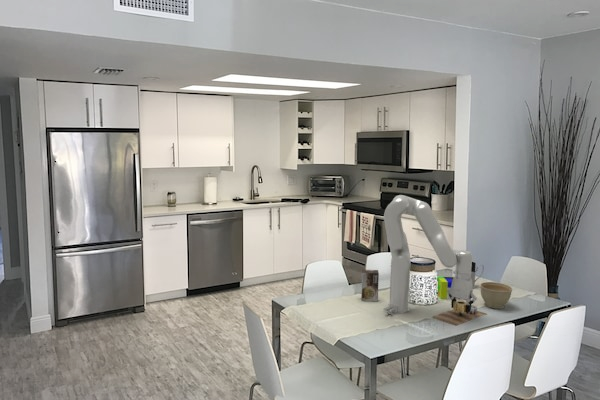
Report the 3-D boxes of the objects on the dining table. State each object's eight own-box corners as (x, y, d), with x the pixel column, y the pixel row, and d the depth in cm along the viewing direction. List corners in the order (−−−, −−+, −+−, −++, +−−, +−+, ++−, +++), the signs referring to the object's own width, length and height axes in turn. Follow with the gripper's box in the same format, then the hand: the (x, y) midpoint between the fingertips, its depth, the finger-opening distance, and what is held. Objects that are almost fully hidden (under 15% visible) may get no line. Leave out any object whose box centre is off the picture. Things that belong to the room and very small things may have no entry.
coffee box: (377, 297, 284) (378, 269, 282) (378, 301, 278) (379, 273, 276) (361, 297, 285) (362, 269, 283) (361, 300, 279) (362, 272, 276)
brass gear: (463, 313, 250) (463, 306, 250) (450, 310, 256) (450, 302, 255) (471, 310, 255) (471, 303, 254) (458, 307, 260) (458, 299, 260)
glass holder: (457, 284, 311) (458, 261, 309) (478, 284, 314) (480, 260, 312) (464, 289, 303) (466, 264, 301) (486, 288, 305) (487, 264, 303)
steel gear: (471, 314, 255) (472, 309, 255) (459, 310, 261) (459, 305, 261) (479, 311, 260) (480, 306, 260) (467, 307, 266) (467, 302, 265)
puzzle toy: (458, 299, 284) (459, 282, 283) (440, 299, 284) (441, 281, 283) (453, 293, 294) (454, 277, 293) (436, 293, 294) (437, 276, 293)
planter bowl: (482, 310, 268) (483, 290, 266) (476, 300, 284) (477, 281, 282) (514, 312, 265) (515, 291, 264) (506, 301, 281) (507, 282, 280)
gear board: (455, 328, 241) (456, 315, 240) (431, 320, 252) (431, 307, 251) (486, 316, 258) (487, 304, 257) (462, 308, 269) (462, 296, 268)
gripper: (443, 272, 257) (441, 306, 259) (474, 281, 244) (472, 316, 246) (452, 270, 262) (450, 303, 264) (483, 278, 248) (480, 313, 251)
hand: (460, 309), depth 255 cm, fingers closed on brass gear, 7 cm apart
